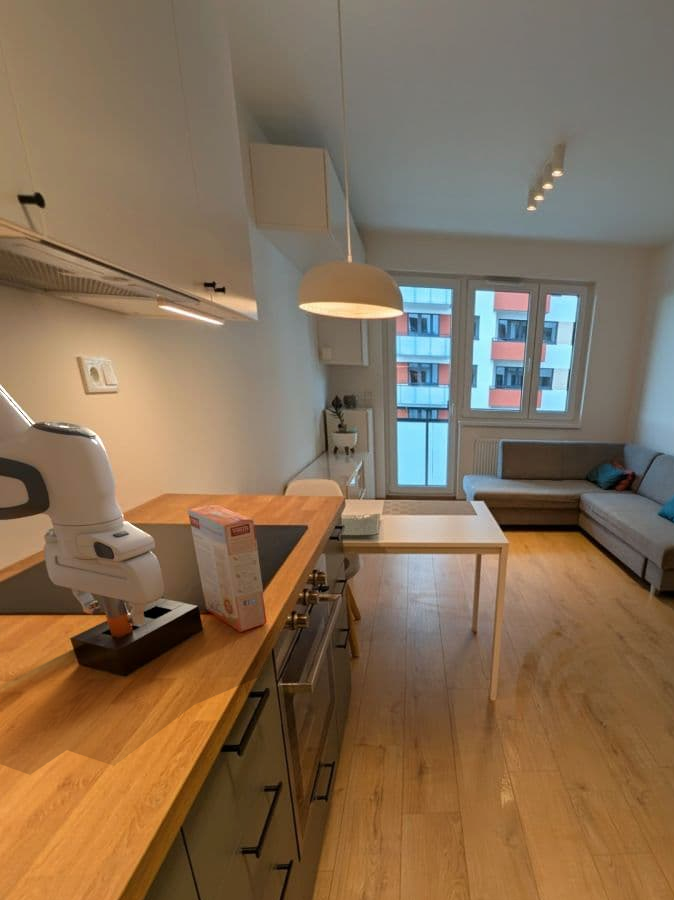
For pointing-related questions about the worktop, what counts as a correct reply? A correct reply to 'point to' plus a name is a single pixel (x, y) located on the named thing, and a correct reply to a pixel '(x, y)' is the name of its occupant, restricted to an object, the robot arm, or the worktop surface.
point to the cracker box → (228, 566)
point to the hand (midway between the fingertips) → (114, 617)
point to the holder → (138, 638)
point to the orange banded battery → (116, 616)
